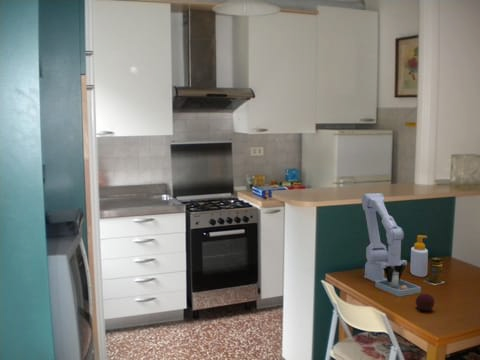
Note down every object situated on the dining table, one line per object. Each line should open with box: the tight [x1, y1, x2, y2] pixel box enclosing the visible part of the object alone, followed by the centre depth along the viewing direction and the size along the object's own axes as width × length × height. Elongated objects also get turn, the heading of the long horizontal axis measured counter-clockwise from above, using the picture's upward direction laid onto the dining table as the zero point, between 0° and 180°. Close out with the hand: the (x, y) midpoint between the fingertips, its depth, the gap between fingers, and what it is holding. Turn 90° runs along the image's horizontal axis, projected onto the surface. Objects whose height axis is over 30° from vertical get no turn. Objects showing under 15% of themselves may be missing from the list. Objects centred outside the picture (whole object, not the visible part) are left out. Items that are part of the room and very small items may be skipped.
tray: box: [374, 278, 422, 298], centre depth 235 cm, size 16×14×3 cm
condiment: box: [423, 257, 446, 286], centre depth 248 cm, size 7×8×12 cm
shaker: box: [389, 269, 399, 286], centre depth 237 cm, size 5×5×6 cm
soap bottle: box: [409, 234, 429, 278], centre depth 261 cm, size 13×8×20 cm, turn 171°
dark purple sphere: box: [415, 293, 435, 312], centre depth 210 cm, size 7×8×7 cm
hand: (393, 280), depth 237 cm, fingers closed on shaker, 4 cm apart
